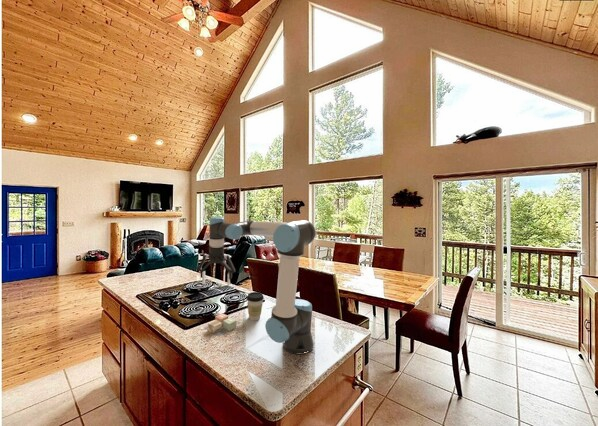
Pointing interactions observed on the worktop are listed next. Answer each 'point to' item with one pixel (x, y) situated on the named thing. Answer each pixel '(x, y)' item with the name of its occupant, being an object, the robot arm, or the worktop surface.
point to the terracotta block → (221, 318)
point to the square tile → (219, 331)
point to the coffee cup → (255, 305)
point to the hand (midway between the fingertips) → (216, 284)
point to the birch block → (215, 326)
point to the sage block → (229, 324)
